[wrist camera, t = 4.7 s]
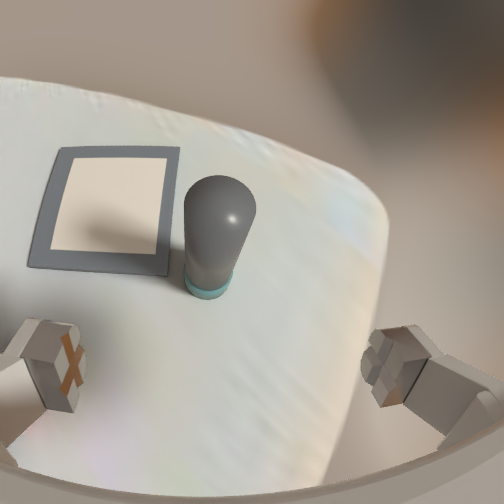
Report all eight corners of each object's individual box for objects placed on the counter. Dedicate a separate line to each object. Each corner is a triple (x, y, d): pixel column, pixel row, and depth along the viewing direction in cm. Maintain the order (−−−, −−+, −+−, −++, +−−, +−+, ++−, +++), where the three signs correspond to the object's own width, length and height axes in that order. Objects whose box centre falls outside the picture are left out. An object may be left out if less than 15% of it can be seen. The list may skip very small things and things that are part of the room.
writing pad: (30, 267, 21) (27, 265, 21) (62, 150, 26) (60, 146, 25) (167, 276, 23) (167, 273, 23) (179, 150, 28) (179, 146, 27)
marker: (183, 298, 23) (179, 238, 13) (185, 255, 24) (184, 171, 14) (229, 300, 24) (259, 242, 14) (229, 257, 25) (257, 176, 15)
